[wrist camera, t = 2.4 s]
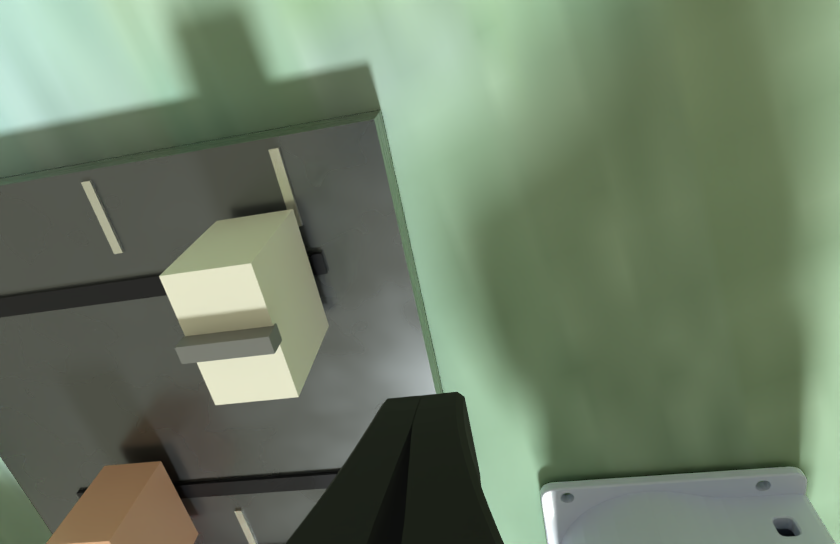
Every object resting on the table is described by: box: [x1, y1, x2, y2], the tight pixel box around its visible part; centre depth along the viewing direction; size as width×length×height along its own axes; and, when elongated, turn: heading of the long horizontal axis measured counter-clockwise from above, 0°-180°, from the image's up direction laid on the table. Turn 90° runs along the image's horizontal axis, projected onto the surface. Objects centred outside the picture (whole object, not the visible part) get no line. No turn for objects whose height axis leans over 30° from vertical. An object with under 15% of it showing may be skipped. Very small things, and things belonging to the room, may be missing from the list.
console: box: [0, 110, 443, 544], centre depth 22 cm, size 18×18×2 cm
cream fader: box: [159, 209, 329, 405], centre depth 16 cm, size 2×4×4 cm, turn 11°
